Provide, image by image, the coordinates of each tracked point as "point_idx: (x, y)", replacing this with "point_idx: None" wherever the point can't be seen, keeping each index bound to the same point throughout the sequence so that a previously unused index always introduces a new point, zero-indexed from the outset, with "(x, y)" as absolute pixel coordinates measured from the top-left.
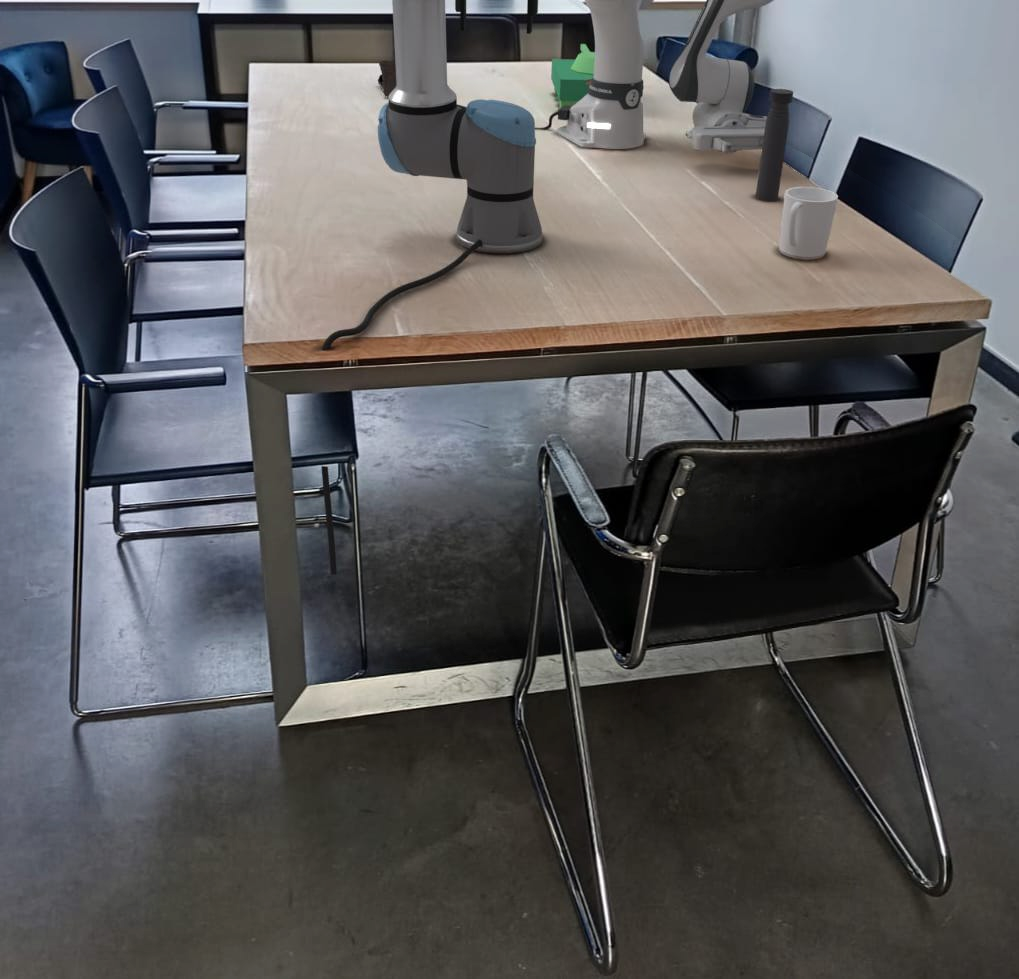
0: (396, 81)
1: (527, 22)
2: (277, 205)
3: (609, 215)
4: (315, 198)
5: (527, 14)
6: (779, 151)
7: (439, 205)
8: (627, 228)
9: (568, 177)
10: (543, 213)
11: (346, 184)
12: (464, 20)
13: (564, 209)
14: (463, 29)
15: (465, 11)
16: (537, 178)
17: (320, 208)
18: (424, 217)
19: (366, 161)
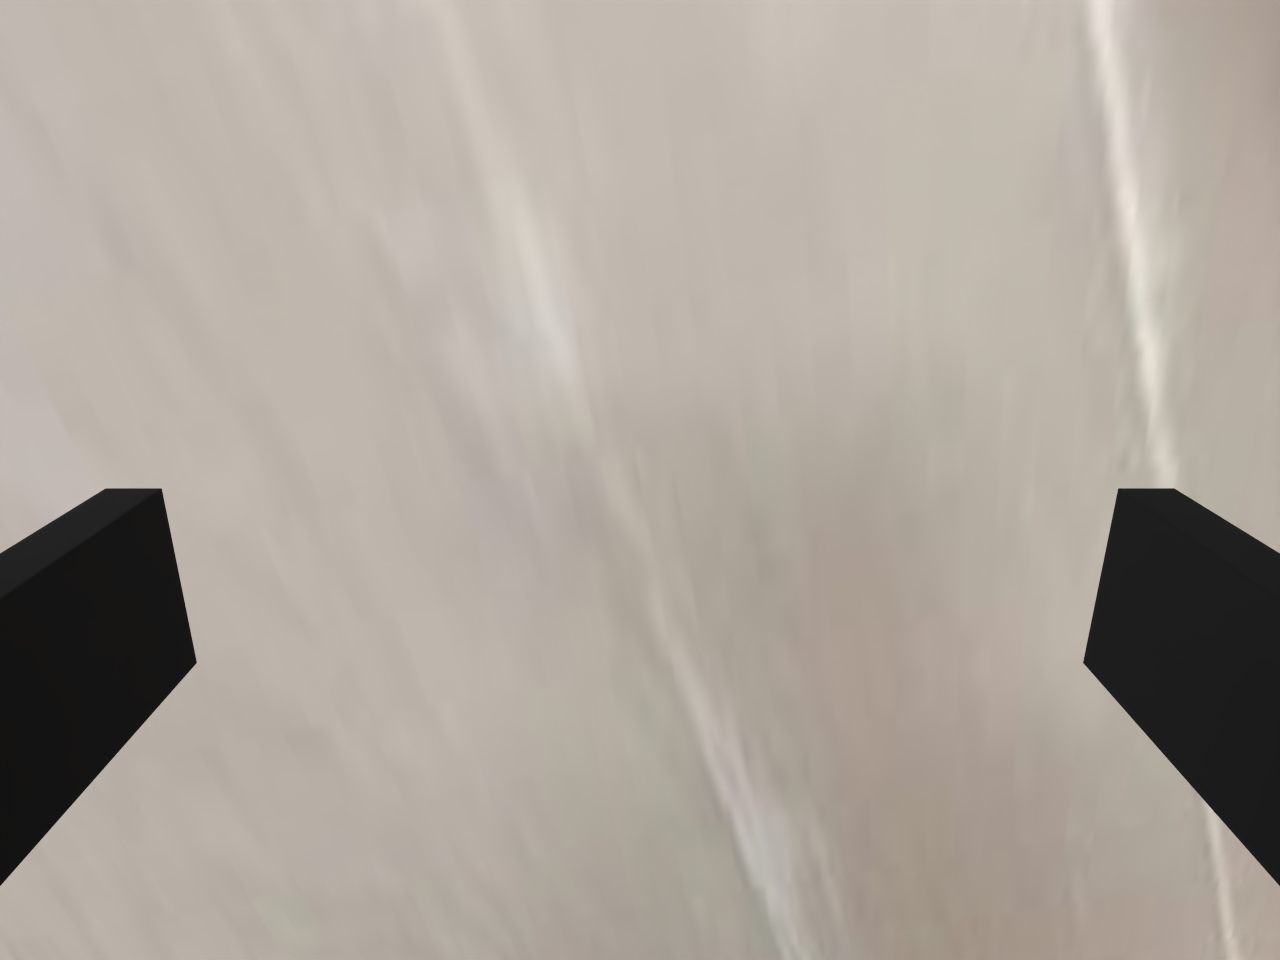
0: None
1: (1174, 757)
2: (4, 917)
3: (1128, 821)
4: (82, 836)
5: (1250, 841)
6: None
7: (527, 828)
8: (1170, 920)
9: (1005, 391)
10: (896, 840)
11: None
12: (117, 703)
13: (971, 791)
14: (181, 668)
15: (7, 693)
16: (861, 436)
17: (153, 919)
18: (511, 936)
19: (3, 324)
